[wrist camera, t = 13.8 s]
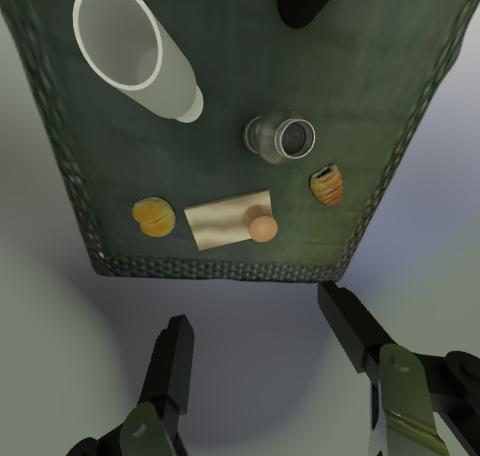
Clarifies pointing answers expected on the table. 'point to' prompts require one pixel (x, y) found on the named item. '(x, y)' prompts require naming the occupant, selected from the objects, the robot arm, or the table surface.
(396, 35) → the table surface
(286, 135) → the plastic bottle
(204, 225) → the board
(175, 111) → the champagne flute
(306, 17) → the vinegar
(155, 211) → the bread roll
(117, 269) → the table surface
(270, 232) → the cap
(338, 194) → the pastry
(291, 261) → the table surface
